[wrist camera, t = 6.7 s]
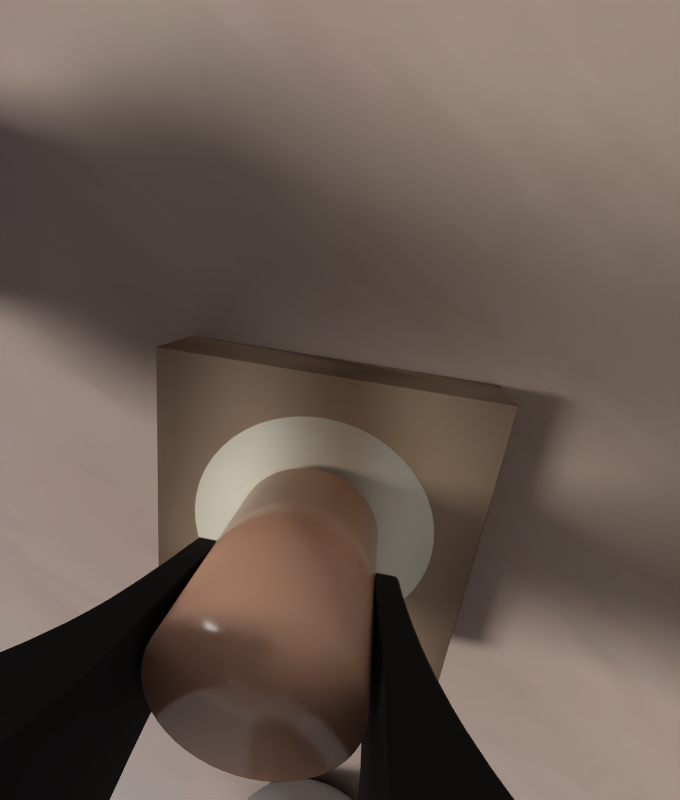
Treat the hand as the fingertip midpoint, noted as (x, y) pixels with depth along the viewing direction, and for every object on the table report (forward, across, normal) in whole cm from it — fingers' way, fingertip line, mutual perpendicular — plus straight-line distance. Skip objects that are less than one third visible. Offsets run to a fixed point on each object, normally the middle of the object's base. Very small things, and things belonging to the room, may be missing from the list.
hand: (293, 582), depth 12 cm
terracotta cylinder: (+2, 0, 0) cm, 2 cm away
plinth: (+5, 0, 0) cm, 5 cm away
